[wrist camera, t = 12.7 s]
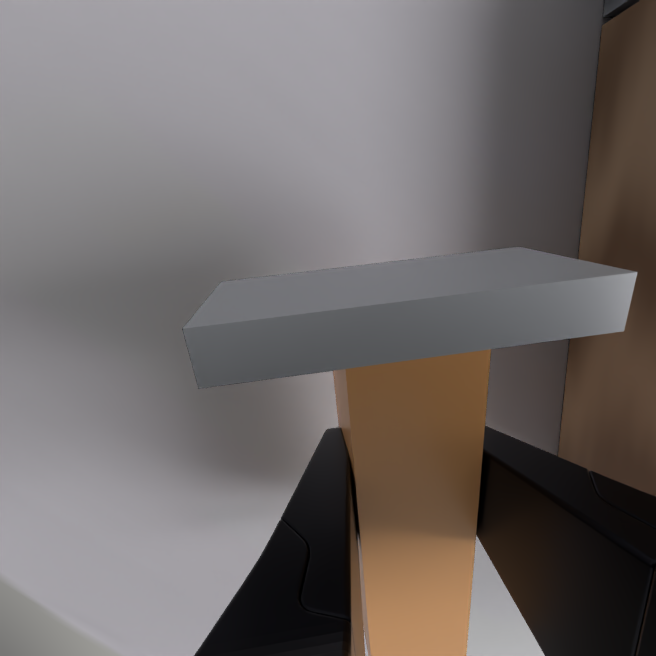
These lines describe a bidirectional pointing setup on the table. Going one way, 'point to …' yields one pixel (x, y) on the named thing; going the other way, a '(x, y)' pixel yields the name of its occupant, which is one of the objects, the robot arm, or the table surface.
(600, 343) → the tan block
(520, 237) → the table surface
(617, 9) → the box
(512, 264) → the scraper
